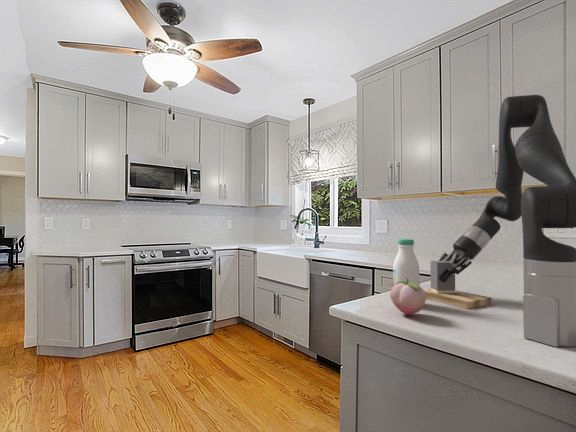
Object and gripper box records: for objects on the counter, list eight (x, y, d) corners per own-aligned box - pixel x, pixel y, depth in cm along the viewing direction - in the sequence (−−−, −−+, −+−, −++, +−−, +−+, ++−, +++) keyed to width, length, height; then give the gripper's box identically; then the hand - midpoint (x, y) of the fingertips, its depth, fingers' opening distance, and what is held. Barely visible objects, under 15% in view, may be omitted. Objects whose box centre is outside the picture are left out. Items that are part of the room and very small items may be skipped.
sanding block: (447, 290, 110) (447, 260, 111) (455, 292, 106) (455, 262, 106) (430, 290, 110) (430, 260, 110) (437, 293, 106) (437, 262, 106)
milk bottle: (424, 304, 99) (424, 239, 99) (409, 308, 95) (409, 240, 95) (403, 299, 105) (403, 238, 106) (387, 302, 101) (387, 239, 101)
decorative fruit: (433, 317, 86) (433, 279, 86) (412, 322, 82) (411, 282, 82) (405, 309, 94) (405, 274, 94) (384, 312, 90) (384, 277, 90)
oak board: (467, 309, 94) (467, 301, 94) (418, 296, 109) (418, 290, 109) (491, 304, 100) (491, 297, 100) (442, 293, 115) (442, 287, 115)
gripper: (452, 234, 116) (419, 268, 115) (477, 235, 101) (440, 274, 101) (466, 248, 116) (434, 282, 115) (493, 252, 102) (456, 291, 101)
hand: (437, 278), depth 108 cm, fingers open, 4 cm apart
